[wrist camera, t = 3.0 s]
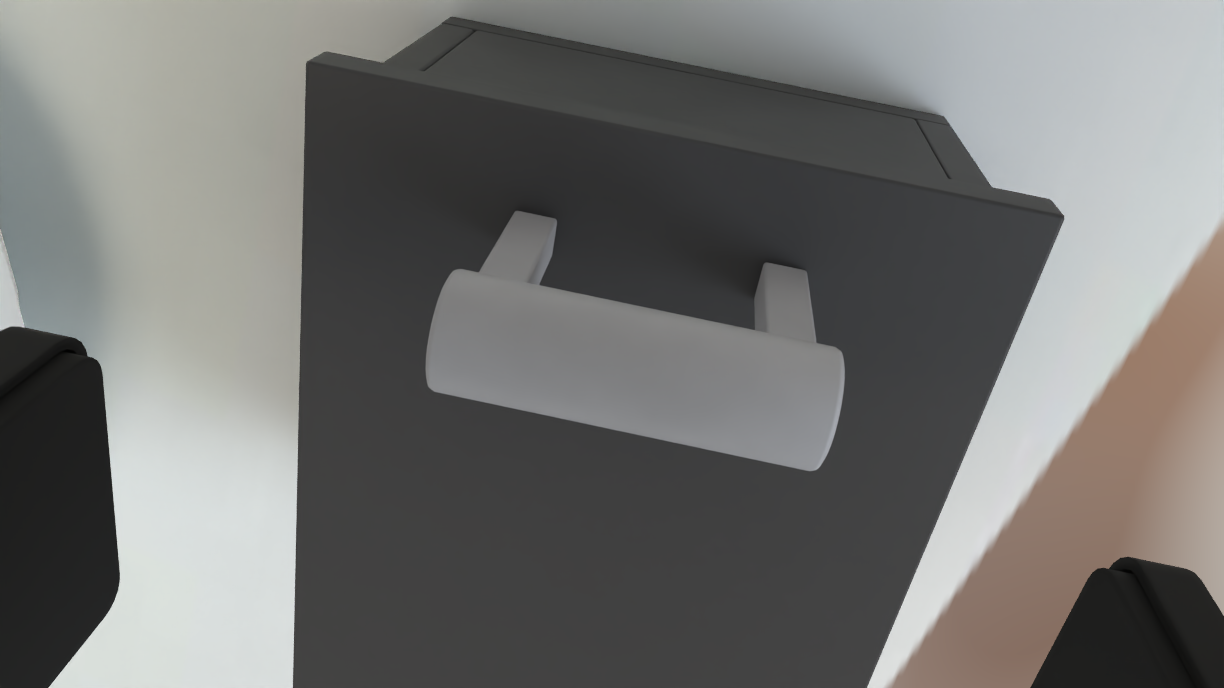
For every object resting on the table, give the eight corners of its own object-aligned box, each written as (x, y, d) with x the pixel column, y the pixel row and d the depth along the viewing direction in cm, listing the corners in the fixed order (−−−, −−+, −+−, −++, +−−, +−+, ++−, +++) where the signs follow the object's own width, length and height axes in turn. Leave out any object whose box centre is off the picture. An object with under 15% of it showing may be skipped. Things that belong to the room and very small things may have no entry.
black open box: (450, 16, 23) (324, 98, 16) (945, 116, 23) (1032, 244, 16) (408, 482, 29) (306, 684, 22) (792, 565, 29) (806, 793, 22)
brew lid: (324, 50, 16) (149, 144, 11) (1051, 197, 15) (1183, 358, 11) (305, 685, 22) (193, 905, 18) (806, 796, 22) (822, 1048, 18)
